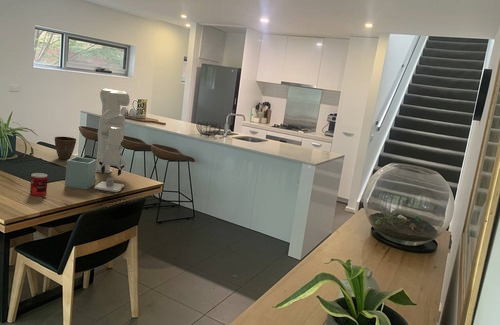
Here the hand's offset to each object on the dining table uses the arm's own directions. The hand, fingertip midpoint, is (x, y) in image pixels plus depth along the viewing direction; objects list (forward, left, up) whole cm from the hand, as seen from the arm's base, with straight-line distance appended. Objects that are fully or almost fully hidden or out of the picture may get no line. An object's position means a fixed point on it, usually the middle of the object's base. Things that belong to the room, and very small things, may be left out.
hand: (110, 173), depth 236 cm
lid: (+1, 0, -8) cm, 8 cm away
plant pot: (-58, -53, -10) cm, 79 cm away
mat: (+1, 0, -10) cm, 10 cm away
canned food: (+28, -30, -10) cm, 42 cm away
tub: (+1, -18, -10) cm, 20 cm away
